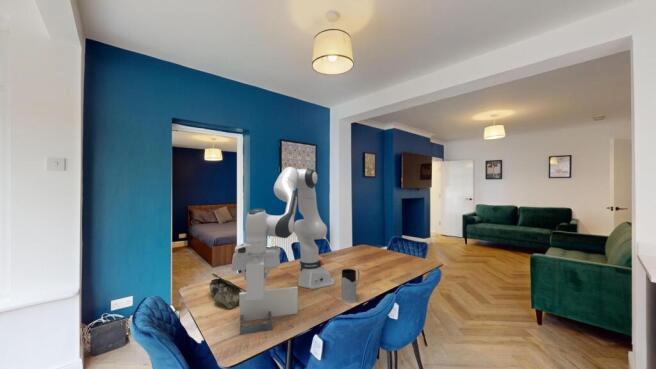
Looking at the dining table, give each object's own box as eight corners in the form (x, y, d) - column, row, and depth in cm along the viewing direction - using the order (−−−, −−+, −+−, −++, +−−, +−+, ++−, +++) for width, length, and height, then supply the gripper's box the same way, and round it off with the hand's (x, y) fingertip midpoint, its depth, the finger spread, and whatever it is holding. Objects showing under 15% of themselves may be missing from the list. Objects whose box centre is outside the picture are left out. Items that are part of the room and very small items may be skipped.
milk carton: (249, 293, 118) (249, 250, 118) (265, 292, 119) (265, 250, 119) (245, 300, 111) (246, 255, 111) (263, 299, 112) (263, 254, 112)
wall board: (296, 311, 127) (296, 286, 127) (297, 313, 125) (297, 287, 125) (239, 319, 119) (239, 292, 119) (239, 321, 117) (239, 294, 117)
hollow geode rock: (214, 300, 150) (194, 286, 143) (230, 281, 156) (212, 266, 149) (234, 317, 129) (212, 301, 122) (252, 294, 135) (231, 277, 128)
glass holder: (337, 300, 140) (337, 271, 140) (352, 291, 151) (352, 265, 151) (350, 304, 134) (350, 275, 134) (365, 295, 145) (365, 268, 145)
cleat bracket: (270, 317, 120) (270, 311, 121) (272, 329, 110) (272, 322, 110) (240, 322, 117) (240, 315, 117) (239, 334, 107) (239, 327, 107)
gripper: (279, 243, 121) (279, 274, 121) (232, 246, 115) (231, 278, 115) (281, 246, 115) (281, 278, 115) (231, 249, 109) (231, 283, 109)
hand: (256, 278), depth 115 cm, fingers closed on milk carton, 7 cm apart
